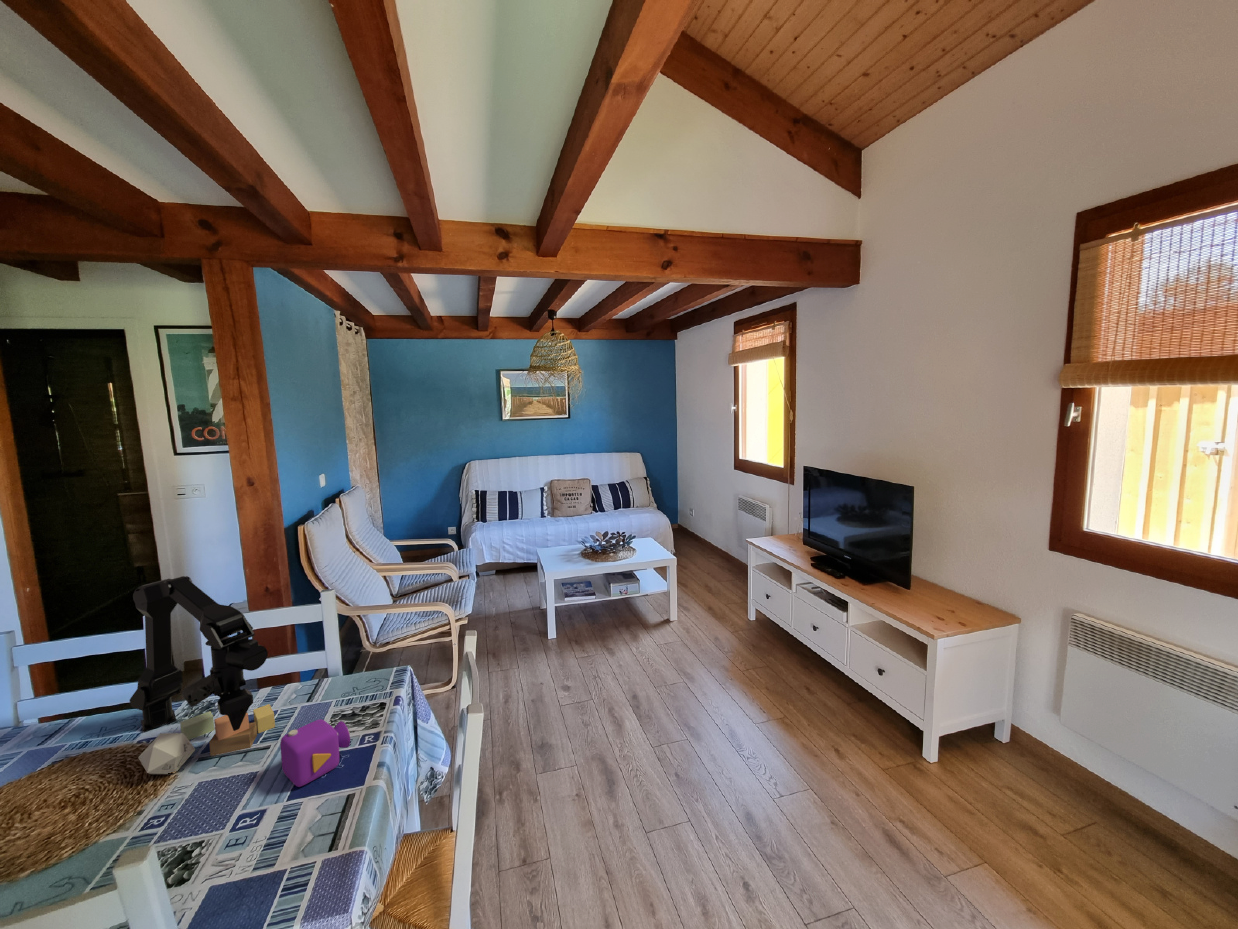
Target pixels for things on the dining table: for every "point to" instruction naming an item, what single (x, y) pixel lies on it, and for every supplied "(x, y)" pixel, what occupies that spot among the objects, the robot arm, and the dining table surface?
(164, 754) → the die
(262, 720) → the ochre brick
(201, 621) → the robot arm
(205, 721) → the sage brick
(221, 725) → the terracotta brick
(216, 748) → the walnut base
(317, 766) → the toy camera
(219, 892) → the dining table surface
